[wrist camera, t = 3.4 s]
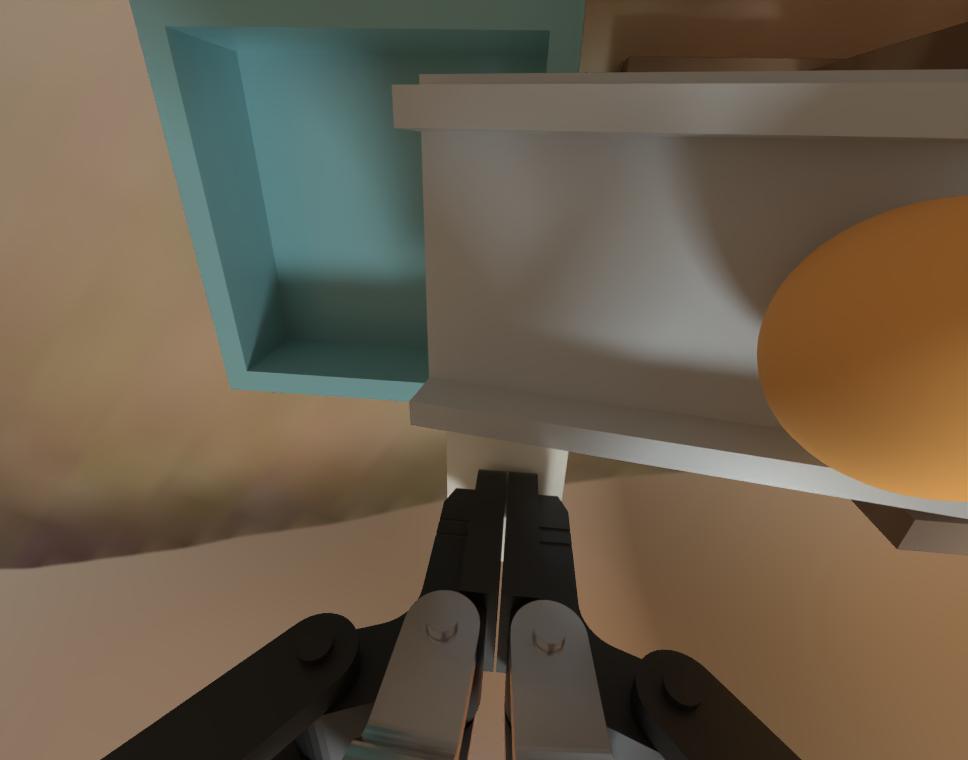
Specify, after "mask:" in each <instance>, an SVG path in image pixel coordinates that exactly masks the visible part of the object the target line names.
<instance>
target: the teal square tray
mask: <svg viewBox="0 0 968 760" xmlns="http://www.w3.org/2000/svg"><path fill="white" fill-rule="evenodd" d="M129 2H130V5H131V9H132V13H133V17H134V21H135V25H136V28H137V32H138V36H139V40H140V44H141V47H142V51H143V55H144V59H145V63H146V67H147V70H148V74H149V78H150V82H151V86H152V89H153V93H154V97H155V101H156V105H157V109H158V112H159V116H160V120H161V124H162V128H163V132H164V135H165V139H166V143H167V147H168V151H169V154H170V158H171V162H172V166H173V170H174V174H175V177H176V181H177V185H178V189H179V193H180V196H181V200H182V204H183V208H184V212H185V216H186V219H187V223H188V227H189V231H190V235H191V238H192V242H193V246H194V250H195V254H196V258H197V261H198V265H199V269H200V273H201V277H202V281H203V284H204V288H205V292H206V296H207V300H208V303H209V307H210V311H211V315H212V319H213V323H214V326H215V330H216V334H217V338H218V342H219V345H220V349H221V353H222V357H223V361H224V365H225V368H226V372H227V376H228V380H229V384H230V387H231V389H238V390H252V391H266V392H280V393H294V394H308V395H323V396H337V397H351V398H365V399H379V400H393V401H408V402H409V401H410V400H411V399H412V398H413V396H414V395H415V394H416V393H417V392H418V390H419V389H420V388H421V387H422V386H423V384H424V383H425V382H426V381H427V380H428V378H429V362H428V331H427V300H426V269H425V238H424V207H423V176H422V145H421V132H420V131H413V130H406V129H398V128H394V119H393V102H392V85H420V84H419V74H499V73H579V65H580V55H581V45H582V35H583V26H584V16H585V6H586V0H129Z"/></svg>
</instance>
